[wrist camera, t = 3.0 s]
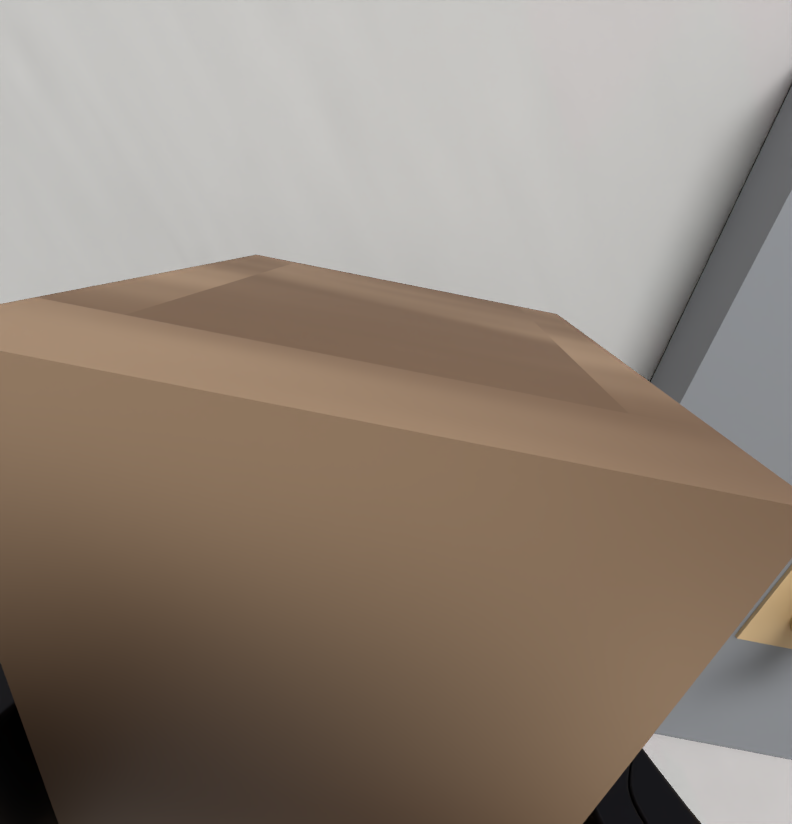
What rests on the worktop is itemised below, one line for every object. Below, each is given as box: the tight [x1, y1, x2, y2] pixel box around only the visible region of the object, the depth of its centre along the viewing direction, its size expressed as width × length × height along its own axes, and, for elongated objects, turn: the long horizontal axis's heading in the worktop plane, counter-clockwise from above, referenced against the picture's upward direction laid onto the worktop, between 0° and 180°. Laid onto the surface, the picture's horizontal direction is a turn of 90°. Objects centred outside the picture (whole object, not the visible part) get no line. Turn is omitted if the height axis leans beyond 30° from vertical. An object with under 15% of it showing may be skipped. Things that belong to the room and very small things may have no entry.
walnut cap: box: [0, 255, 792, 824], centre depth 7 cm, size 11×5×6 cm, turn 170°
